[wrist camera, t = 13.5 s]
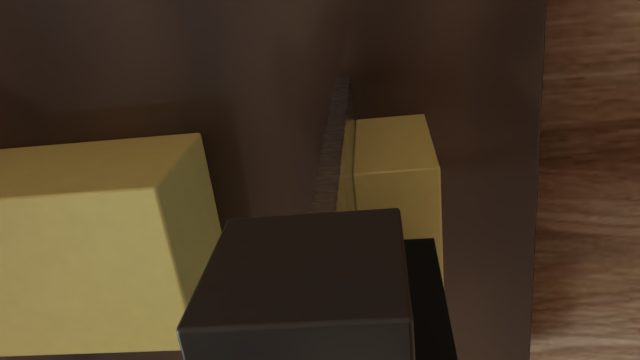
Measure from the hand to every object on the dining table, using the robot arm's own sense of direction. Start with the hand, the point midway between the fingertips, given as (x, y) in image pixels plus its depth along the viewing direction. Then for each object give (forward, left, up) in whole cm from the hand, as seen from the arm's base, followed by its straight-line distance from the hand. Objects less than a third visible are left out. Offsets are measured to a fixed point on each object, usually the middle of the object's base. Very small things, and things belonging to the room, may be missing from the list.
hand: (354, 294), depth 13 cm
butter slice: (-1, 0, -5) cm, 5 cm away
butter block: (+9, 0, -5) cm, 10 cm away
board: (+5, 0, -6) cm, 8 cm away
